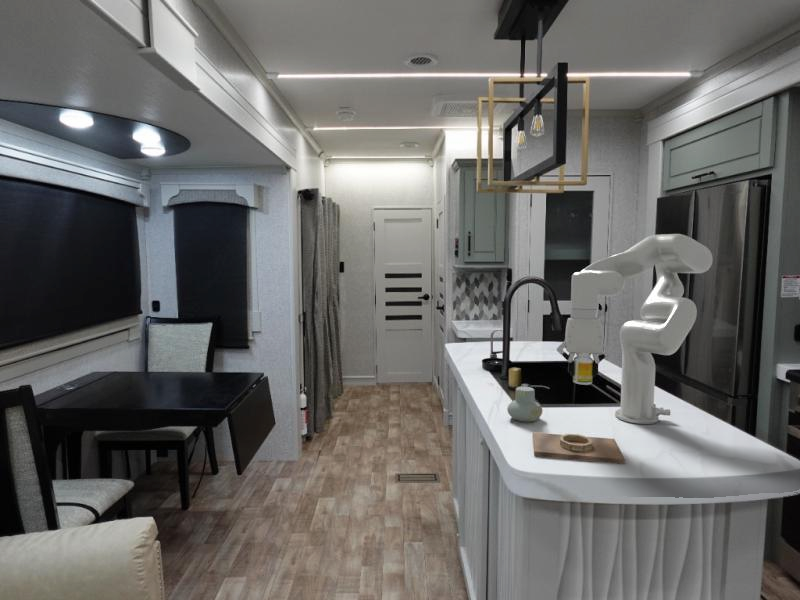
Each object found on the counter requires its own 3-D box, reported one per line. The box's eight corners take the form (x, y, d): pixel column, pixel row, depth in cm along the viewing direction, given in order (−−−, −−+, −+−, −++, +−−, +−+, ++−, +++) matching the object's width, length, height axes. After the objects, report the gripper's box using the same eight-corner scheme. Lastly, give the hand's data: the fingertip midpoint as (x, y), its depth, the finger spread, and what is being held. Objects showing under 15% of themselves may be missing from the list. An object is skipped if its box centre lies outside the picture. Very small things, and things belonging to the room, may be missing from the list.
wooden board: (614, 442, 135) (614, 433, 135) (625, 463, 121) (625, 453, 121) (532, 436, 140) (532, 427, 140) (534, 455, 127) (534, 445, 126)
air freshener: (525, 426, 148) (525, 394, 148) (503, 419, 155) (503, 389, 154) (545, 418, 155) (546, 388, 154) (524, 412, 162) (524, 383, 161)
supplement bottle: (568, 381, 144) (569, 349, 143) (582, 379, 146) (583, 348, 145) (583, 386, 139) (583, 353, 138) (596, 383, 141) (597, 351, 140)
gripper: (613, 313, 142) (611, 373, 144) (552, 312, 146) (551, 371, 148) (618, 316, 135) (616, 380, 137) (554, 315, 139) (553, 377, 141)
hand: (582, 374), depth 142 cm, fingers closed on supplement bottle, 5 cm apart
